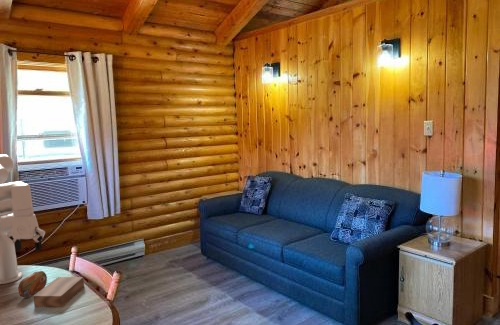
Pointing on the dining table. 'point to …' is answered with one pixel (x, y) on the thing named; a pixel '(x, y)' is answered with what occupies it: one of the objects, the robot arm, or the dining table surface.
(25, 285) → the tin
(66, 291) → the walnut block
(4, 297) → the dining table surface
